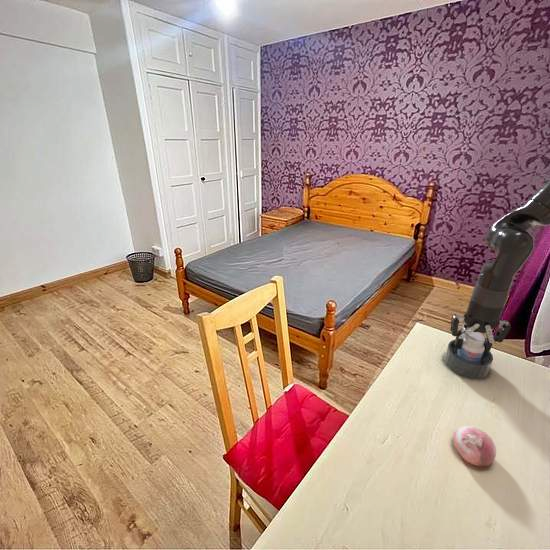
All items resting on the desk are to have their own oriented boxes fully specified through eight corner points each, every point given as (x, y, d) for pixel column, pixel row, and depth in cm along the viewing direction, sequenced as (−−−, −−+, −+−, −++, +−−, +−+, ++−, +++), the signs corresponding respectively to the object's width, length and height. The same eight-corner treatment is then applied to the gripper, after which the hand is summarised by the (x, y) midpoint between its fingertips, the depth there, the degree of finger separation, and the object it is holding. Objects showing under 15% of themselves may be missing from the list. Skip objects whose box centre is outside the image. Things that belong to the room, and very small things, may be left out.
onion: (442, 449, 69) (450, 428, 66) (461, 431, 73) (469, 410, 69) (480, 480, 63) (490, 458, 60) (498, 459, 67) (509, 437, 63)
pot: (450, 349, 98) (455, 334, 95) (491, 366, 91) (497, 350, 88) (438, 367, 91) (442, 352, 88) (480, 387, 84) (487, 371, 81)
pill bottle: (456, 371, 89) (466, 341, 84) (451, 357, 94) (460, 328, 89) (479, 375, 88) (491, 344, 82) (473, 360, 93) (483, 330, 88)
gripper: (514, 295, 81) (494, 344, 89) (454, 289, 85) (440, 337, 93) (526, 310, 75) (504, 362, 83) (461, 303, 79) (446, 353, 86)
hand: (470, 348), depth 88 cm, fingers closed on pill bottle, 6 cm apart
